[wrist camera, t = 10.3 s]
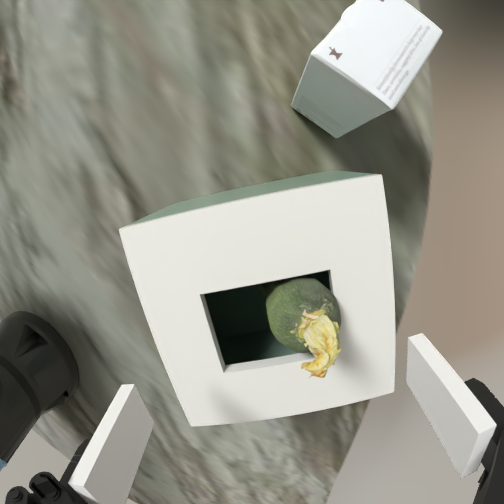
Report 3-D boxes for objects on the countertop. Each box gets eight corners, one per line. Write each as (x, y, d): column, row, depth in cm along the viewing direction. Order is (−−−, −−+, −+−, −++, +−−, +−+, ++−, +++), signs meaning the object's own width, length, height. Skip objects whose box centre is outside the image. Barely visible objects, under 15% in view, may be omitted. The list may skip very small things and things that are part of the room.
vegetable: (285, 246, 32) (398, 314, 13) (284, 288, 33) (382, 396, 14) (241, 246, 32) (304, 324, 12) (240, 289, 32) (296, 412, 13)
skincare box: (336, 140, 30) (393, 121, 16) (286, 104, 29) (306, 56, 15) (378, 80, 28) (450, 33, 14) (331, 46, 27) (375, -25, 13)
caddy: (213, 340, 36) (191, 426, 23) (175, 202, 32) (118, 229, 19) (352, 314, 35) (394, 391, 21) (331, 170, 31) (381, 174, 17)
